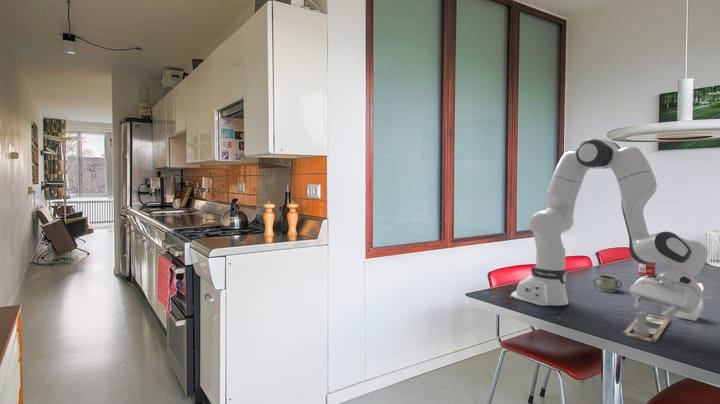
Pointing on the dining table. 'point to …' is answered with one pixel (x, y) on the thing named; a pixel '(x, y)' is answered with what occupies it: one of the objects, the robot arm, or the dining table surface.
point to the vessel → (607, 283)
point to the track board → (654, 332)
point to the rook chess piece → (641, 324)
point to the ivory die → (688, 314)
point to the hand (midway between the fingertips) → (649, 312)
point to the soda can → (647, 269)
